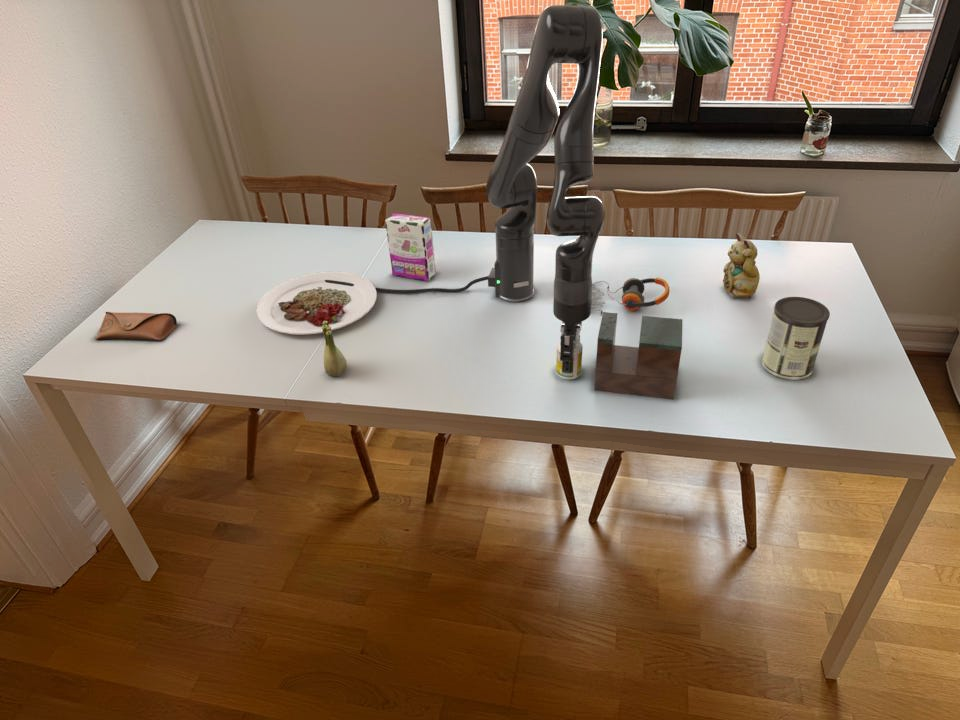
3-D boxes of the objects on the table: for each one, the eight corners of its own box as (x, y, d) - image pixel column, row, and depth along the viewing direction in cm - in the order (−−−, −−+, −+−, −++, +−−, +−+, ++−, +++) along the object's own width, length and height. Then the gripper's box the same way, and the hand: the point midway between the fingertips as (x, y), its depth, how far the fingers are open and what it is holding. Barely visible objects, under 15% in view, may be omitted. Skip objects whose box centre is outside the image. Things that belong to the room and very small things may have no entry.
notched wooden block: (594, 390, 142) (597, 338, 134) (599, 362, 150) (602, 311, 142) (673, 399, 139) (682, 346, 131) (674, 370, 146) (682, 319, 139)
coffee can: (792, 347, 151) (807, 292, 143) (823, 374, 143) (841, 317, 135) (751, 357, 149) (764, 301, 141) (780, 384, 141) (796, 327, 133)
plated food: (320, 267, 191) (318, 257, 189) (401, 296, 177) (400, 284, 175) (233, 317, 172) (229, 305, 170) (316, 353, 157) (313, 341, 155)
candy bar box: (436, 273, 186) (431, 217, 176) (428, 282, 182) (423, 225, 172) (400, 267, 189) (393, 212, 180) (391, 275, 186) (384, 219, 176)
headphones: (587, 274, 176) (667, 262, 170) (591, 291, 179) (670, 281, 173) (582, 308, 163) (668, 297, 157) (586, 327, 166) (671, 317, 160)
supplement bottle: (563, 382, 144) (564, 345, 139) (551, 369, 149) (552, 332, 143) (585, 376, 146) (588, 339, 140) (573, 362, 150) (575, 326, 144)
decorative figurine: (714, 285, 174) (724, 230, 165) (744, 280, 176) (755, 226, 167) (734, 304, 167) (745, 248, 158) (765, 298, 168) (778, 243, 159)
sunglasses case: (91, 339, 165) (90, 312, 165) (109, 338, 172) (108, 311, 172) (162, 340, 164) (161, 312, 163) (178, 339, 171) (177, 312, 170)
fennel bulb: (330, 363, 154) (320, 318, 147) (351, 364, 153) (342, 319, 146) (322, 379, 149) (312, 333, 142) (344, 380, 149) (335, 334, 142)
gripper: (559, 275, 142) (557, 340, 152) (548, 310, 131) (547, 378, 140) (595, 277, 140) (591, 343, 150) (587, 314, 129) (584, 382, 139)
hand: (570, 360), depth 145 cm, fingers open, 8 cm apart
